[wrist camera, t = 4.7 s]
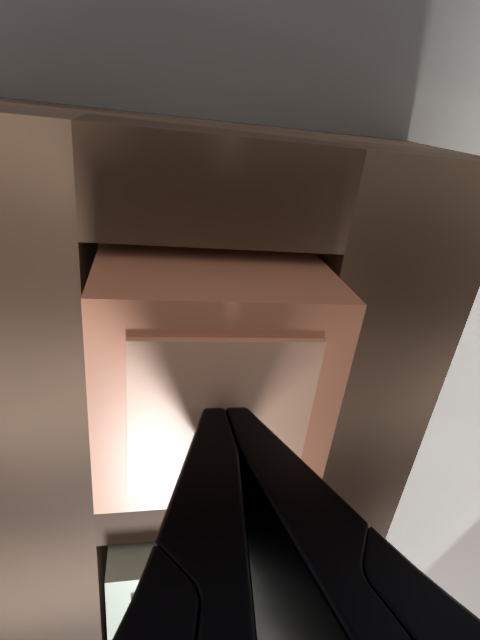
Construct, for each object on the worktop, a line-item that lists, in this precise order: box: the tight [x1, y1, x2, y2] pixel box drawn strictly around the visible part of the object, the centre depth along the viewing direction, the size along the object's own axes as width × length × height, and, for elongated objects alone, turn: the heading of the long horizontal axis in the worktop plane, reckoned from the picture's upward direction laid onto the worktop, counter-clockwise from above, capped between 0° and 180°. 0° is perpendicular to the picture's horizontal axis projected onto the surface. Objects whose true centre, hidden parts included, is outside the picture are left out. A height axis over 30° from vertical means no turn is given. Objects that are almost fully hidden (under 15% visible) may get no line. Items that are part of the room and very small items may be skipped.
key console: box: [0, 98, 480, 640], centre depth 15 cm, size 19×13×5 cm
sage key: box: [105, 541, 155, 640], centre depth 15 cm, size 5×5×4 cm
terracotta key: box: [81, 243, 367, 514], centre depth 10 cm, size 5×5×4 cm
